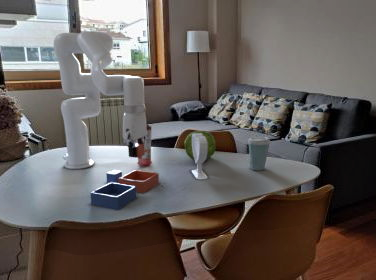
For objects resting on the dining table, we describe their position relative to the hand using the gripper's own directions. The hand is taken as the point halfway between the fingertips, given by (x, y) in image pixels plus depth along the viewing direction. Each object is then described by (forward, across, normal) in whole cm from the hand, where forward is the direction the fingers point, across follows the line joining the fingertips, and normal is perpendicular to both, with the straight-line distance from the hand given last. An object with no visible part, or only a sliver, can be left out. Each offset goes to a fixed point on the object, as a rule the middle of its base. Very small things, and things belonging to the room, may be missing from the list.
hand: (136, 154), depth 140 cm
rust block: (0, 0, 0) cm, 0 cm away
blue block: (+13, -1, -12) cm, 18 cm away
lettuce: (+13, -47, +6) cm, 49 cm away
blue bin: (+13, +15, 0) cm, 20 cm away
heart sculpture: (+14, -24, +16) cm, 32 cm away
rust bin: (+13, -1, 0) cm, 13 cm away
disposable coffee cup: (+14, -43, +38) cm, 59 cm away
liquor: (+13, -25, -13) cm, 31 cm away
